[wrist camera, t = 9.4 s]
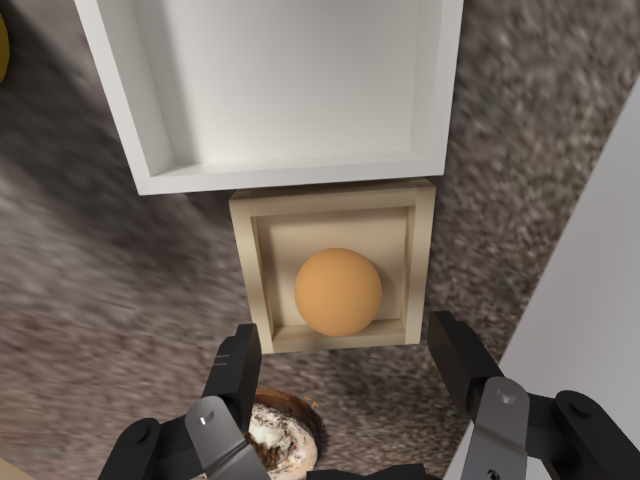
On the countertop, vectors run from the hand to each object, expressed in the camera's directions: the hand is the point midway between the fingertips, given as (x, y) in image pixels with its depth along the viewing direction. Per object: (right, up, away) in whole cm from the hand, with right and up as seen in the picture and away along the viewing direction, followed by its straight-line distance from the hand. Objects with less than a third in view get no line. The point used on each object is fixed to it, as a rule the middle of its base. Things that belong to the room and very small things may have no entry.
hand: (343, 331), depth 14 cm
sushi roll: (-7, -13, +15) cm, 21 cm away
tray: (0, +3, +6) cm, 7 cm away
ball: (0, +2, +6) cm, 6 cm away
